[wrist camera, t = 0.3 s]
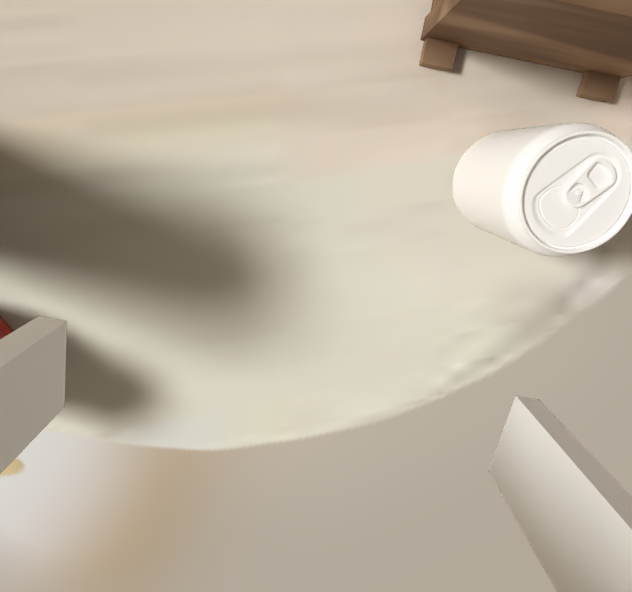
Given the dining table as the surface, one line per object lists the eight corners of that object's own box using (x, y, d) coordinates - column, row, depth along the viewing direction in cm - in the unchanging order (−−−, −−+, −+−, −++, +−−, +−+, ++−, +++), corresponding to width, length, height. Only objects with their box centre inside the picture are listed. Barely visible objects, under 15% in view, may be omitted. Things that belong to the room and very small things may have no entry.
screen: (430, -9, 34) (494, -92, 22) (631, 33, 35) (790, -26, 23) (415, 64, 35) (467, 21, 24) (608, 102, 36) (747, 79, 25)
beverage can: (430, 181, 38) (483, 193, 26) (507, 108, 36) (599, 88, 25) (489, 248, 40) (562, 287, 28) (564, 182, 38) (675, 195, 27)
